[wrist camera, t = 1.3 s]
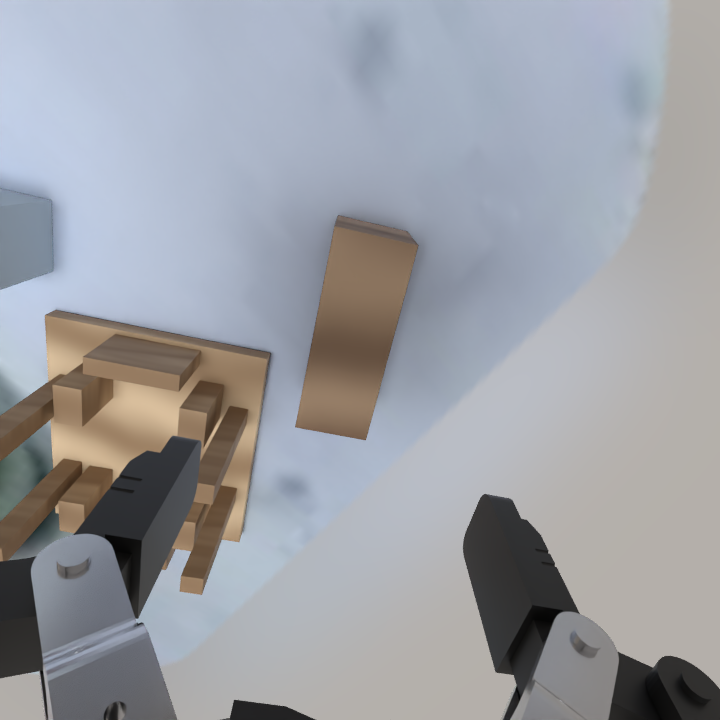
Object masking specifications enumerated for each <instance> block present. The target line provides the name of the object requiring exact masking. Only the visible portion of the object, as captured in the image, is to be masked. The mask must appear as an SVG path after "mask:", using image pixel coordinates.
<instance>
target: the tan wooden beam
mask: <svg viewBox="0 0 720 720" xmlns="http://www.w3.org/2000/svg"><path fill="white" fill-rule="evenodd" d="M417 249H418V244H417V243H416V242H415V241H414V239H413V238H412V237H411V235H410V234H409V233H408V232H407V231H403V230H399V229H395V228H390V227H386V226H382V225H377V224H373V223H369V222H364V221H360V220H356V219H352V218H347V217H343V216H339V215H338V217H337V220H336V223H335V226H334V231H333V236H332V241H331V247H330V252H329V257H328V262H327V267H326V272H325V277H324V283H323V288H322V293H321V298H320V303H319V308H318V313H317V318H316V324H315V329H314V334H313V339H312V344H311V349H310V354H309V359H308V365H307V370H306V375H305V380H304V385H303V390H302V395H301V401H300V406H299V411H298V416H297V421H296V426H295V427H297V428H302V429H308V430H313V431H319V432H324V433H329V434H335V435H340V436H346V437H351V438H357V439H362V440H366V438H367V434H368V430H369V426H370V423H371V419H372V415H373V412H374V408H375V404H376V401H377V397H378V393H379V389H380V386H381V382H382V378H383V375H384V371H385V367H386V363H387V360H388V356H389V352H390V349H391V345H392V341H393V338H394V334H395V330H396V326H397V323H398V319H399V315H400V312H401V308H402V304H403V301H404V297H405V293H406V289H407V286H408V282H409V278H410V275H411V271H412V267H413V263H414V260H415V256H416V252H417Z"/></svg>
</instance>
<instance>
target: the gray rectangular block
mask: <svg viewBox="0 0 720 720" xmlns="http://www.w3.org/2000/svg"><path fill="white" fill-rule="evenodd" d="M52 271H53V230H52V200H48V199H44V198H39V197H35V196H31V195H27V194H23V193H19V192H15V191H10V190H6V189H2V188H0V290H1V289H4V288H7V287H10V286H12V285H15V284H18V283H21V282H24V281H27V280H30V279H32V278H35V277H38V276H41V275H44V274H47V273H50V272H52Z"/></svg>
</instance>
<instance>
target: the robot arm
mask: <svg viewBox="0 0 720 720" xmlns="http://www.w3.org/2000/svg"><path fill="white" fill-rule="evenodd" d="M201 446H202V444H201V441H200V440H195V439H190V438H184V437H179V436H172V437H171V438H170V439H169V441H168V442H167V443H166V445H165V446H164V448H163V449H162V451H161V452H160V453H159V452H153V451H148V450H147V451H145V452H144V453H142V454H140V455H139V456H137V457H135V458H134V459H132V460H131V461H129V463H128V464H127V465H126V467H125V468H124V469H123V471H122V472H121V473H120V475H119V477H118V478H116V480H115V481H114V482H113V484H112V485H111V487H110V489H108V490H107V492H106V493H105V494H104V496H103V497H102V498H101V499H100V501H99V502H98V503H97V505H96V506H95V507H94V509H93V510H92V511H91V513H90V514H89V515H88V517H87V518H86V519H85V520H84V522H83V523H82V524H81V526H80V527H79V528H78V530H77V531H76V532H75V533H74V535H71V536H67V537H64V538H61V539H59V540H57V541H55V542H53V543H51V544H50V545H48V546H47V547H46V548H44V549H43V550H42V551H41V552H40V553H39V554H38V555H37V556H36V557H31V558H26V559H19V560H9V561H0V678H4V677H9V676H15V675H20V674H26V673H31V672H36V671H39V676H40V684H41V691H42V699H43V705H44V714H45V720H177V717H176V714H175V711H174V708H173V705H172V702H171V699H170V696H169V693H168V690H167V687H166V684H165V681H164V678H163V675H162V672H161V669H160V666H159V663H158V660H157V657H156V654H155V651H154V648H153V645H152V642H151V639H150V636H149V633H148V630H147V628H146V626H145V625H144V623H139V624H138V623H137V621H136V619H135V618H137V619H138V617H139V615H140V613H141V611H142V609H143V607H144V605H145V603H146V601H147V599H148V597H149V594H150V592H151V590H152V588H153V586H154V584H155V582H156V580H157V578H158V576H159V574H160V572H161V569H162V567H163V565H164V563H165V561H166V559H167V557H168V555H169V553H170V551H171V549H172V547H173V544H174V542H175V540H176V538H177V536H178V534H179V532H180V530H181V528H182V526H183V524H184V522H185V519H186V517H187V515H188V513H189V511H190V509H191V507H192V504H193V501H194V498H195V494H196V490H197V483H198V474H199V465H200V456H201ZM463 553H464V558H465V562H466V565H467V569H468V573H469V577H470V580H471V584H472V587H473V591H474V595H475V598H476V602H477V605H478V609H479V613H480V617H481V620H482V624H483V628H484V631H485V635H486V638H487V642H488V646H489V650H490V653H491V657H492V660H493V664H494V667H495V671H496V672H497V673H504V674H511V675H514V678H515V680H516V684H517V685H516V686H515V688H514V690H513V692H512V693H511V696H510V698H509V701H508V703H507V706H506V708H505V711H504V713H503V715H502V718H501V720H720V689H719V688H718V687H717V685H716V684H715V683H714V682H713V681H712V680H711V679H710V678H709V677H708V676H707V675H706V674H704V673H703V672H702V671H701V670H700V669H698V668H697V667H695V666H694V665H692V664H691V663H689V662H687V661H685V660H682V659H680V658H677V657H673V656H664V657H662V658H661V659H660V660H659V661H658V662H657V663H656V665H655V666H654V667H653V668H652V667H650V666H648V665H646V664H643V663H641V662H639V661H637V660H634V659H632V658H630V657H628V656H625V655H624V654H621V653H619V652H617V650H616V647H615V645H614V643H613V642H612V640H611V639H610V637H609V636H608V635H607V633H606V632H605V631H604V630H603V629H602V628H601V627H600V626H598V625H597V624H596V623H595V622H593V621H592V620H590V619H589V618H587V617H585V616H583V615H581V614H580V613H579V612H578V610H577V607H576V605H575V604H574V602H573V599H572V598H571V595H570V593H569V591H568V589H567V587H566V585H565V583H564V581H563V579H562V577H561V575H560V573H559V571H558V569H557V567H555V563H554V561H553V559H552V557H551V555H550V554H548V549H547V547H546V545H545V543H544V541H543V539H542V537H541V535H540V534H539V533H538V532H537V531H536V529H535V528H534V527H533V526H532V525H531V524H530V523H529V522H528V521H527V520H524V519H521V518H520V515H519V513H518V511H517V509H516V507H515V505H514V503H513V501H512V500H511V499H509V498H504V497H498V496H492V495H487V494H484V495H483V496H482V497H481V498H480V500H479V502H478V505H477V507H476V510H475V512H474V514H473V517H472V519H471V521H470V524H469V526H468V528H467V531H466V534H465V537H464V543H463ZM222 720H315V719H313V718H310V717H308V716H306V715H304V714H301V713H299V712H297V711H295V710H293V709H290V708H288V707H285V706H278V705H270V704H262V703H254V702H247V701H239V700H234V703H233V707H232V711H231V716H230V718H227V719H222Z"/></svg>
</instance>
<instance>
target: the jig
mask: <svg viewBox="0 0 720 720" xmlns="http://www.w3.org/2000/svg"><path fill="white" fill-rule="evenodd" d="M45 326H46V344H47V363H48V381H49V382H48V383H46V384H45V385H43V386H42V387H40V388H39V389H38V390H36V391H35V392H33V393H32V394H31V395H29V396H28V397H26V398H25V399H23V400H22V401H21V402H19V403H18V404H16V405H15V406H14V407H12V408H11V409H9V410H8V411H6V412H5V413H4V414H2V415H1V416H0V461H1V460H2V459H4V458H5V457H6V456H7V455H8V454H10V453H11V452H12V451H13V450H14V449H16V448H17V447H18V446H19V445H20V444H22V443H23V442H24V441H25V440H26V439H28V438H29V437H30V436H31V435H32V434H34V433H35V432H36V431H37V430H38V429H40V428H41V427H42V426H43V425H44V424H46V423H47V422H48V421H49V420H50V419H51V436H52V454H53V470H52V471H51V472H50V473H49V474H48V475H47V476H46V477H45V478H44V479H43V480H42V481H41V482H40V483H39V484H38V485H37V486H36V487H35V488H34V489H33V490H32V491H31V492H30V493H29V494H28V495H27V496H26V497H25V498H24V499H23V500H22V501H21V502H20V503H19V504H18V505H17V506H16V507H15V508H14V509H13V510H12V511H11V512H10V513H9V514H8V515H7V516H6V517H5V518H4V519H3V520H2V521H1V522H0V561H8V560H9V559H10V558H11V556H12V555H13V554H14V553H15V552H16V551H17V550H18V549H19V547H20V546H21V545H22V544H23V543H24V542H25V541H26V539H27V538H28V537H29V536H30V535H31V534H32V533H33V531H34V530H35V529H36V528H37V527H38V526H39V525H40V524H41V522H42V521H43V520H44V519H45V518H46V517H47V516H48V514H49V513H50V512H51V511H52V510H53V509H54V508H55V509H56V513H59V523H60V531H65V532H71V533H75V532H76V531H77V530H78V528H79V527H80V526H81V524H82V523H83V522H84V520H85V519H86V518H87V517H88V515H89V514H90V513H91V511H92V510H93V509H94V507H95V506H96V505H97V503H98V502H99V501H100V499H101V498H102V497H103V496H104V494H105V493H106V492H107V490H108V489H110V487H111V485H112V484H113V482H114V481H115V480H116V478H118V477H119V475H120V473H121V472H122V471H123V469H124V468H125V467H126V465H127V464H128V463H129V461H131V460H132V459H134V458H135V457H137V456H139V455H140V454H142V453H144V452H145V451H147V450H148V451H153V452H159V453H160V452H161V451H162V449H163V448H164V446H165V445H166V443H167V442H168V441H169V439H170V438H171V437H172V436H179V437H184V438H190V439H195V440H200V441H201V444H202V446H201V456H200V465H199V474H198V483H197V490H196V494H195V498H194V501H193V504H192V507H191V509H190V511H189V513H188V515H187V517H186V519H185V522H184V524H183V526H182V528H181V530H180V532H179V534H178V536H177V538H176V540H175V542H174V544H173V547H172V549H171V551H170V553H169V555H168V557H167V559H166V561H165V563H164V565H163V567H162V569H163V570H166V568H167V566H168V564H169V562H170V560H171V558H172V556H173V554H174V551H175V549H180V550H187V551H191V554H190V556H189V559H188V561H187V563H186V566H185V568H184V570H183V573H182V575H181V583H180V592H187V593H194V594H200V595H202V593H203V590H204V587H205V584H206V582H207V579H208V576H209V573H210V570H211V568H212V565H213V562H214V559H215V556H216V554H217V551H218V548H219V545H220V543H221V540H222V539H223V540H229V541H235V542H239V541H240V538H241V535H242V531H243V524H244V518H245V512H246V505H247V499H248V492H249V486H250V480H251V473H252V467H253V461H254V454H255V448H256V441H257V435H258V429H259V422H260V416H261V409H262V403H263V397H264V390H265V384H266V378H267V371H268V365H269V358H270V353H268V352H263V351H258V350H253V349H248V348H243V347H238V346H233V345H228V344H223V343H218V342H213V341H208V340H203V339H198V338H193V337H188V336H183V335H178V334H173V333H168V332H163V331H158V330H153V329H148V328H143V327H138V326H133V325H128V324H123V323H118V322H113V321H108V320H103V319H98V318H93V317H88V316H83V315H78V314H73V313H67V312H62V311H57V310H55V311H52V312H50V313H48V314H46V315H45Z"/></svg>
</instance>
